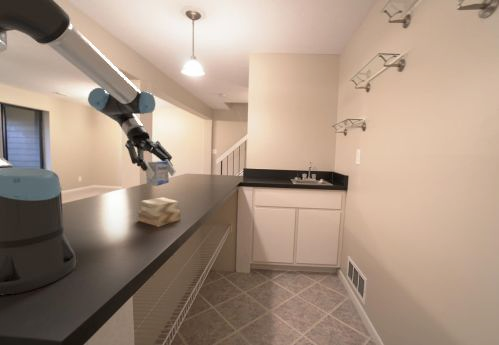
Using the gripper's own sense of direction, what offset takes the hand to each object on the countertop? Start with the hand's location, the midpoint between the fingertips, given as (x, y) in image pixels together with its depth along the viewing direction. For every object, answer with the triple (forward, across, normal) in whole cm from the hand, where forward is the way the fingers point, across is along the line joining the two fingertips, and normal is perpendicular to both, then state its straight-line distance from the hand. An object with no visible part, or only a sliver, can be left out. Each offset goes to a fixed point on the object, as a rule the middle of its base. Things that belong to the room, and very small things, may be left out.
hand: (163, 174), depth 86 cm
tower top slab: (+8, 0, -12) cm, 15 cm away
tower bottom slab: (+11, 0, -15) cm, 19 cm away
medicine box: (+1, 0, -5) cm, 5 cm away
